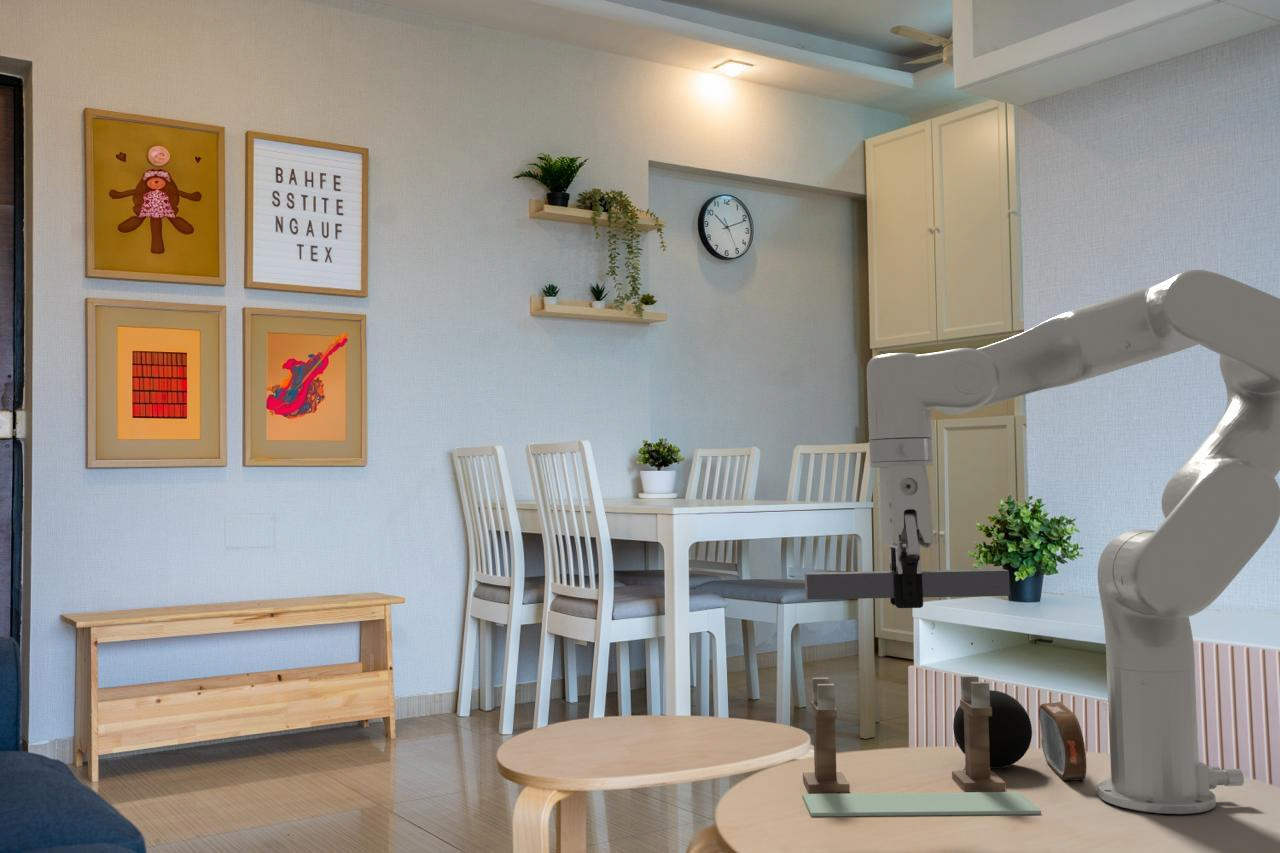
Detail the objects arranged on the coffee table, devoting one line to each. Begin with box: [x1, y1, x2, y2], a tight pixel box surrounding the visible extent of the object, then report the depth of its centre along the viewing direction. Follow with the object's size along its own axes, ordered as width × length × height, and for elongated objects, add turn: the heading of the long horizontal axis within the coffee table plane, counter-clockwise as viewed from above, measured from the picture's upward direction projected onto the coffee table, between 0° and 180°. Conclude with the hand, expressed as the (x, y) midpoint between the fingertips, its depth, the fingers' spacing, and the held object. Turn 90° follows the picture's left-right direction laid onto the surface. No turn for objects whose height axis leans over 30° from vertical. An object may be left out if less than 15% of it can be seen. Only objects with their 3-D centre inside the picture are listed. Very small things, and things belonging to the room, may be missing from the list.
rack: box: [802, 675, 1007, 794], centre depth 140 cm, size 24×6×13 cm, turn 89°
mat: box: [802, 791, 1042, 817], centre depth 131 cm, size 26×8×1 cm, turn 89°
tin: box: [1038, 701, 1087, 781], centre depth 145 cm, size 15×3×8 cm, turn 172°
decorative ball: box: [952, 689, 1033, 769], centre depth 149 cm, size 10×10×10 cm
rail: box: [804, 568, 1011, 600], centre depth 136 cm, size 24×3×3 cm, turn 86°
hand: (906, 604), depth 135 cm, fingers closed on rail, 3 cm apart
